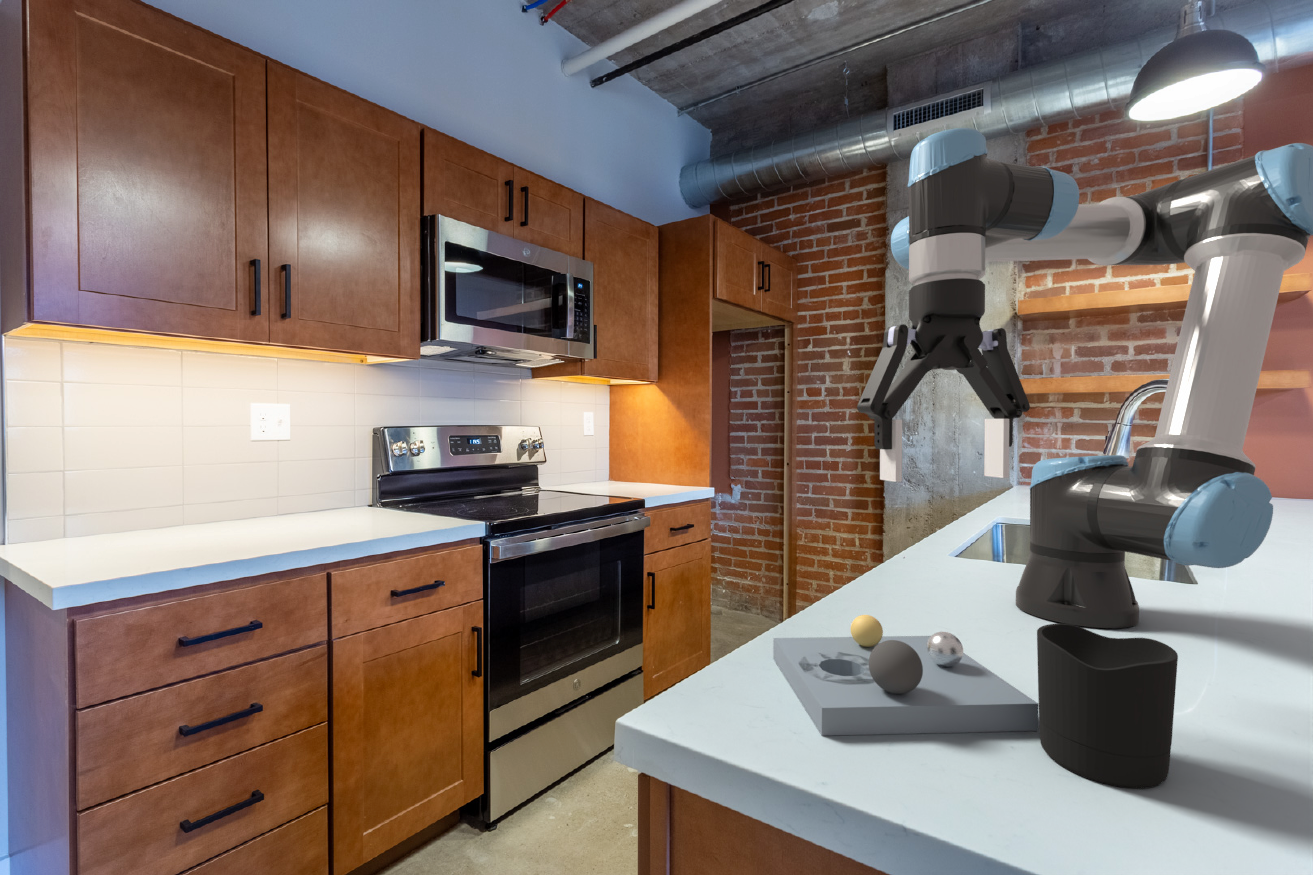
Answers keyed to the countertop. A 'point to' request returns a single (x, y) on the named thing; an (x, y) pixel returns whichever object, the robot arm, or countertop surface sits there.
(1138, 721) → the pen holder
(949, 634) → the steel ball
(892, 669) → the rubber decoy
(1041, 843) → the countertop surface
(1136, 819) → the countertop surface
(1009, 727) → the plate
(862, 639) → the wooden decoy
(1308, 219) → the robot arm
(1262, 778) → the countertop surface
